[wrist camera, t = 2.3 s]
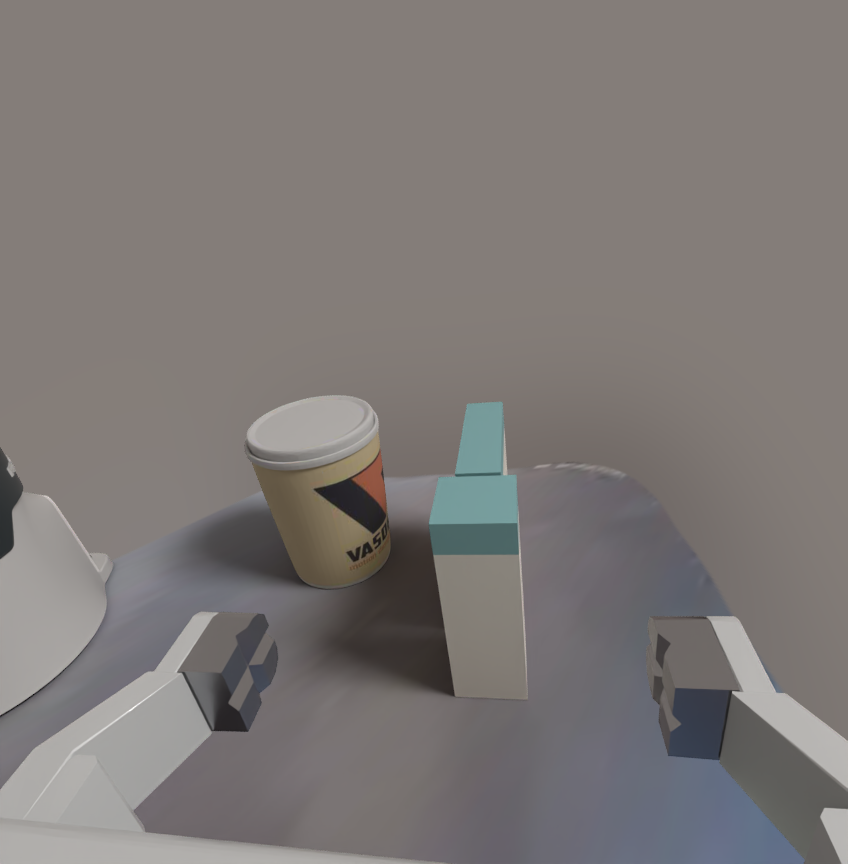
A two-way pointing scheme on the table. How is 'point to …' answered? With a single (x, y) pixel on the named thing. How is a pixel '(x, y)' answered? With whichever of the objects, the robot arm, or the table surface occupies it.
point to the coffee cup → (324, 487)
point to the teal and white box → (482, 441)
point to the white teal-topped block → (481, 584)
